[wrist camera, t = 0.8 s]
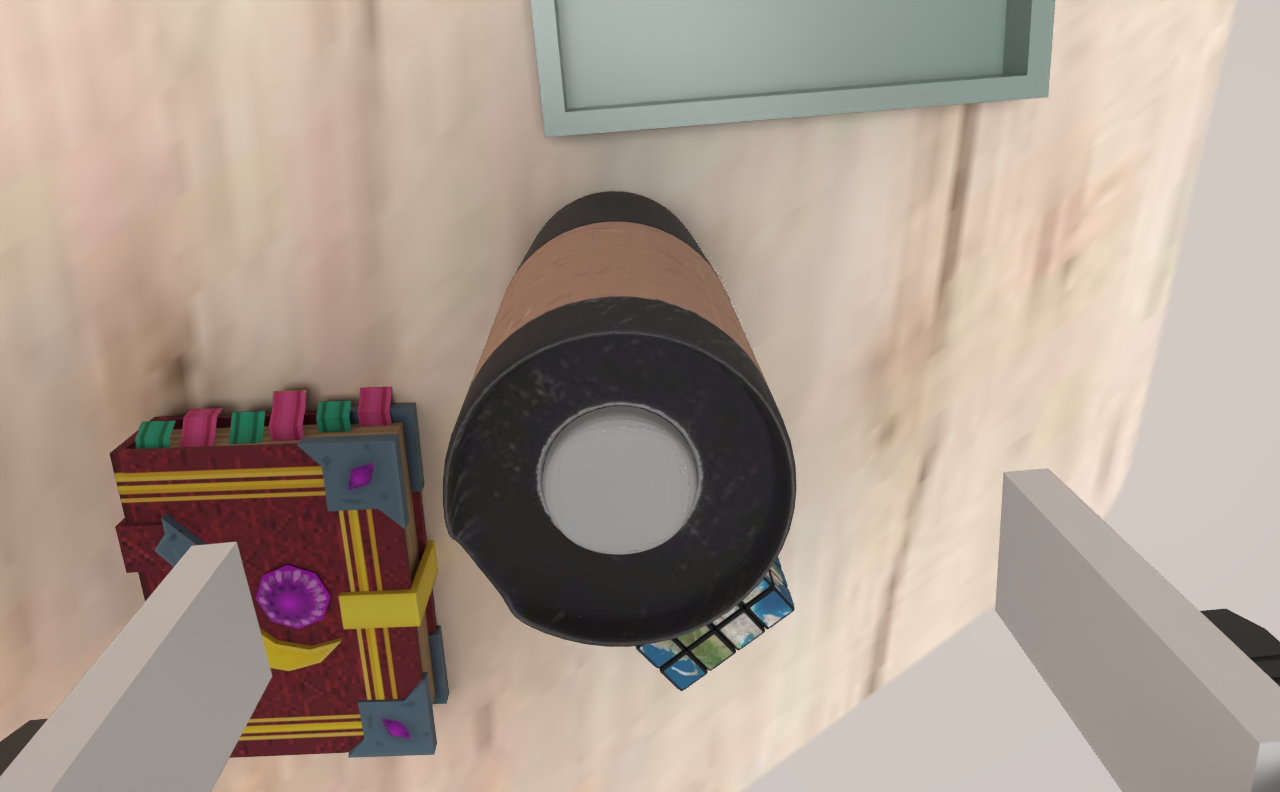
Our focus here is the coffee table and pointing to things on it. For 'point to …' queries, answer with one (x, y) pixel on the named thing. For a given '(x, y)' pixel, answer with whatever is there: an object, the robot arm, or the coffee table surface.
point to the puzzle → (722, 633)
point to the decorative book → (305, 560)
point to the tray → (779, 58)
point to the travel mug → (619, 436)
